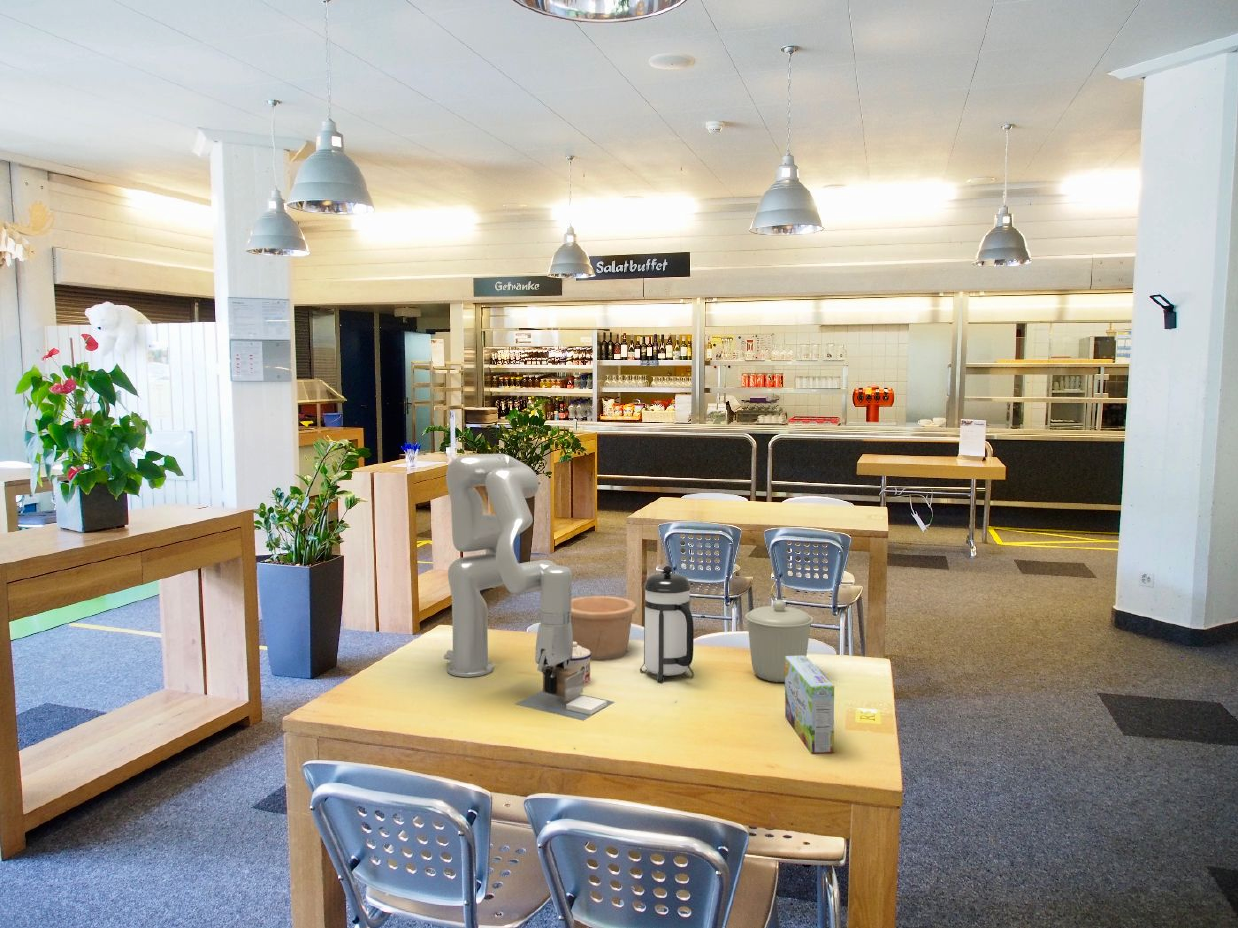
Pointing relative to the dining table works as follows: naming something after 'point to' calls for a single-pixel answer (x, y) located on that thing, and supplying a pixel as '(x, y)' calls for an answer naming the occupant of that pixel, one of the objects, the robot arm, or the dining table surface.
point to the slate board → (556, 705)
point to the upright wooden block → (567, 683)
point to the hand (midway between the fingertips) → (555, 689)
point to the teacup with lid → (580, 662)
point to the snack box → (809, 704)
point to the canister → (776, 638)
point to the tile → (586, 705)
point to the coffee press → (667, 625)
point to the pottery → (602, 625)
